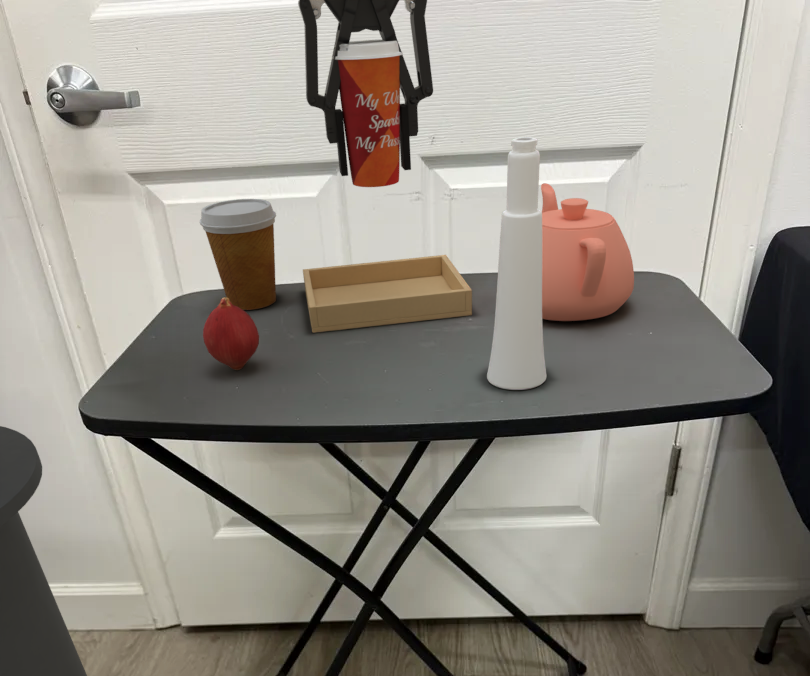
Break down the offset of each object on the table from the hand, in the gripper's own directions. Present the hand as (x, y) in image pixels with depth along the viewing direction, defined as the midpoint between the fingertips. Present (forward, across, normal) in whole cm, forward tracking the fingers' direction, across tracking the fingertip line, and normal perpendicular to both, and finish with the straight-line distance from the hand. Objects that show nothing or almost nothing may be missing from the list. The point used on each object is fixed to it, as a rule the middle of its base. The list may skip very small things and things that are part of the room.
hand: (375, 170), depth 91 cm
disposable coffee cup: (+16, +17, -6) cm, 24 cm away
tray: (+16, 0, 0) cm, 16 cm away
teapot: (+16, -22, +8) cm, 28 cm away
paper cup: (+1, 0, 0) cm, 1 cm away
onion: (+16, +19, +16) cm, 29 cm away
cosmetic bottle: (+16, -10, +27) cm, 33 cm away
